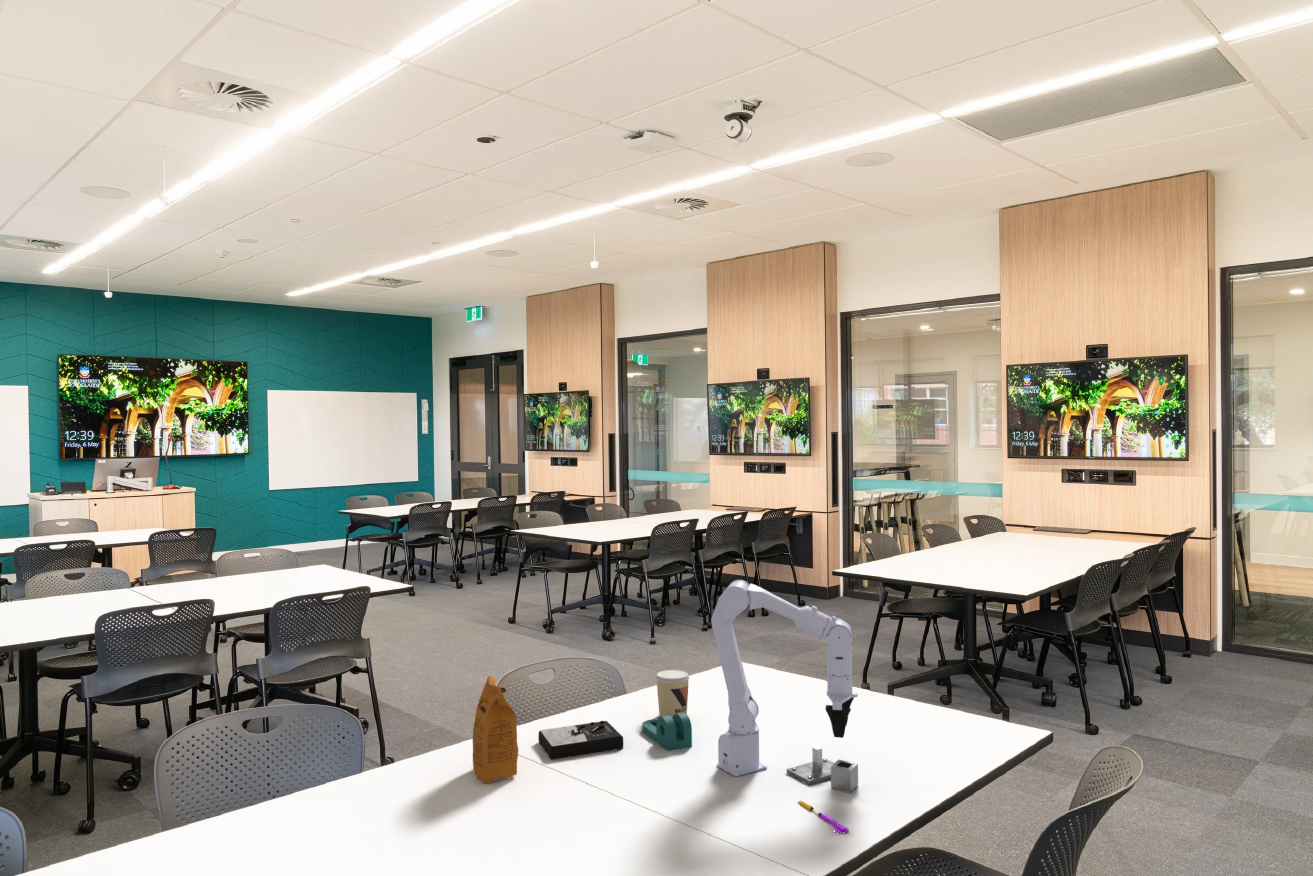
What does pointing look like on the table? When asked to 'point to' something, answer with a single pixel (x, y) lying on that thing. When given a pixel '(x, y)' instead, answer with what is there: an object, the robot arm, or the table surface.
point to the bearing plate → (813, 769)
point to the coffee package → (494, 735)
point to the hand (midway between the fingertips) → (840, 731)
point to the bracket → (670, 731)
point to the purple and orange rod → (826, 819)
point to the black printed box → (580, 740)
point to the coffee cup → (672, 692)
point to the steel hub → (844, 776)
